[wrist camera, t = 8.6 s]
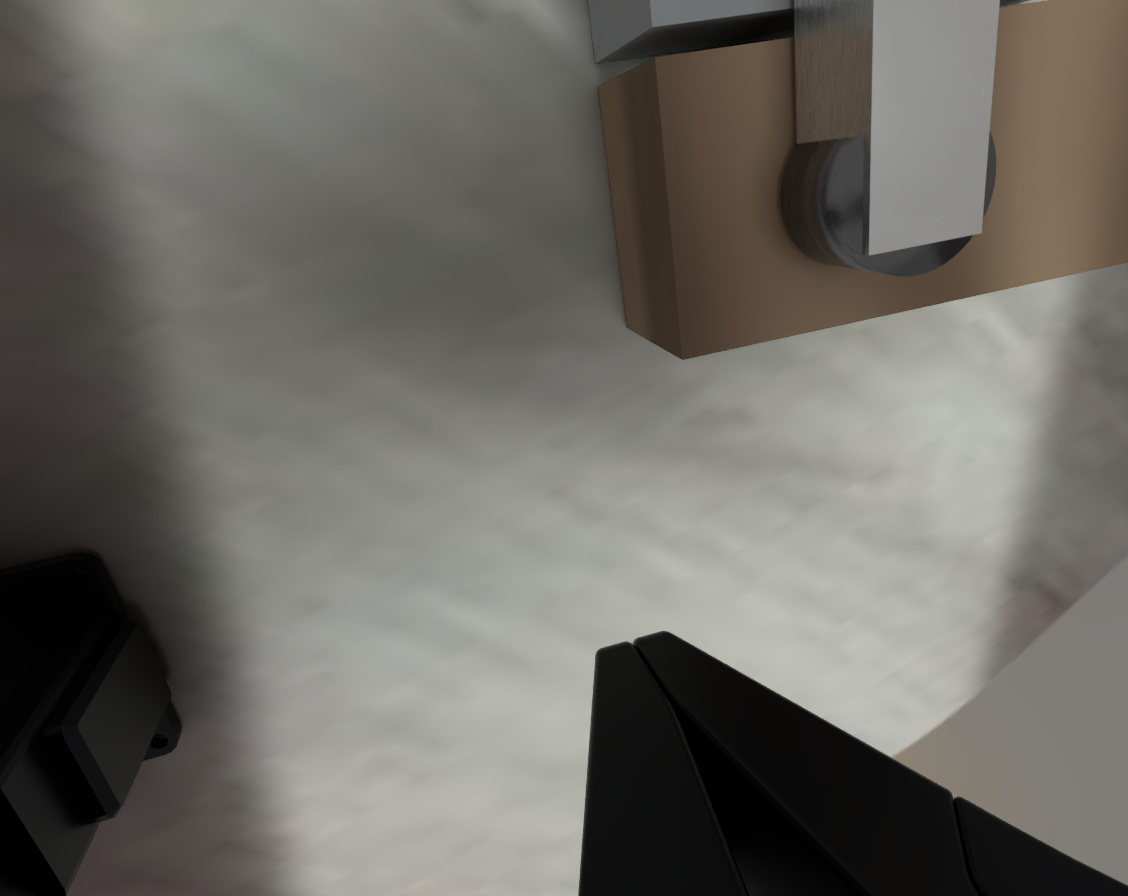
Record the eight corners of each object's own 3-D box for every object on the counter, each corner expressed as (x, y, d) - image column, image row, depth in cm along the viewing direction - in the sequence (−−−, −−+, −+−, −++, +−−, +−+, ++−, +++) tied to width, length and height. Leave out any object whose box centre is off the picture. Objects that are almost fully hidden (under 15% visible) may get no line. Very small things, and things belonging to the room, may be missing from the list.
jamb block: (626, 327, 19) (682, 359, 15) (598, 86, 17) (654, 57, 13) (1000, 249, 21) (1129, 261, 17) (1020, 23, 19) (1173, -18, 15)
